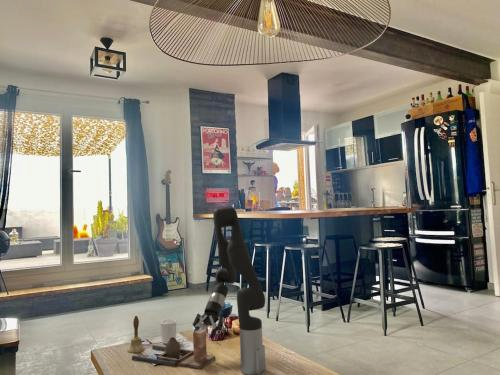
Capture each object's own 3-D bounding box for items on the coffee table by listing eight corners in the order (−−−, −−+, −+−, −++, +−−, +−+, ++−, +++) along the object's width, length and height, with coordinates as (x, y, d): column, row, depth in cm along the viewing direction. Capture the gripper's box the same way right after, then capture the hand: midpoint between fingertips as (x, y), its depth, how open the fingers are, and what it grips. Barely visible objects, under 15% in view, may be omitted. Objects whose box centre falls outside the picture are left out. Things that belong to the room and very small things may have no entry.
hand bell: (133, 346, 189) (132, 313, 190) (148, 347, 187) (147, 314, 188) (123, 352, 181) (123, 318, 182) (139, 353, 179) (138, 319, 180)
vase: (178, 360, 168) (178, 340, 168) (163, 361, 168) (162, 340, 169) (182, 355, 175) (182, 335, 175) (167, 355, 175) (167, 335, 176)
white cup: (158, 343, 192) (157, 323, 192) (165, 338, 199) (165, 319, 200) (171, 344, 189) (171, 324, 190) (179, 339, 197) (178, 319, 198)
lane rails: (194, 354, 175) (194, 350, 175) (175, 366, 161) (174, 362, 161) (153, 348, 185) (153, 345, 185) (131, 359, 172) (131, 356, 172)
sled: (215, 358, 168) (214, 328, 169) (200, 368, 158) (199, 336, 159) (173, 352, 178) (172, 323, 179) (156, 361, 167) (156, 331, 168)
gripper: (199, 299, 180) (185, 331, 168) (225, 301, 174) (213, 334, 162) (205, 308, 184) (193, 339, 173) (231, 310, 178) (220, 343, 167)
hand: (202, 337), depth 168 cm, fingers open, 8 cm apart
